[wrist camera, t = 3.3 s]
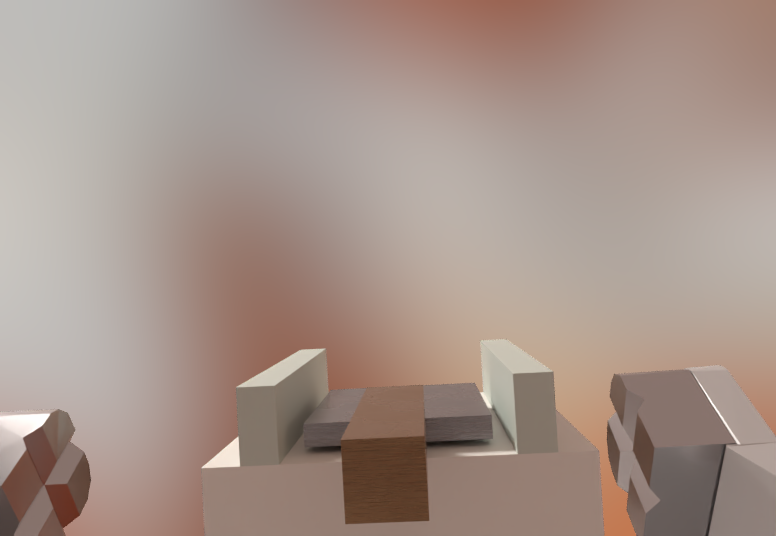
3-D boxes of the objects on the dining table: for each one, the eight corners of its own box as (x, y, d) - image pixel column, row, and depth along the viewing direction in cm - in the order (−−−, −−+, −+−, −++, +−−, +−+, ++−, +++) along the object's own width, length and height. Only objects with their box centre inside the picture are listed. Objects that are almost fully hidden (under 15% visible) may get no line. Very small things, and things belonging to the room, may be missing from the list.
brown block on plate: (332, 407, 38) (329, 364, 38) (475, 400, 38) (473, 357, 38) (248, 527, 20) (243, 444, 20) (528, 516, 19) (523, 431, 19)
